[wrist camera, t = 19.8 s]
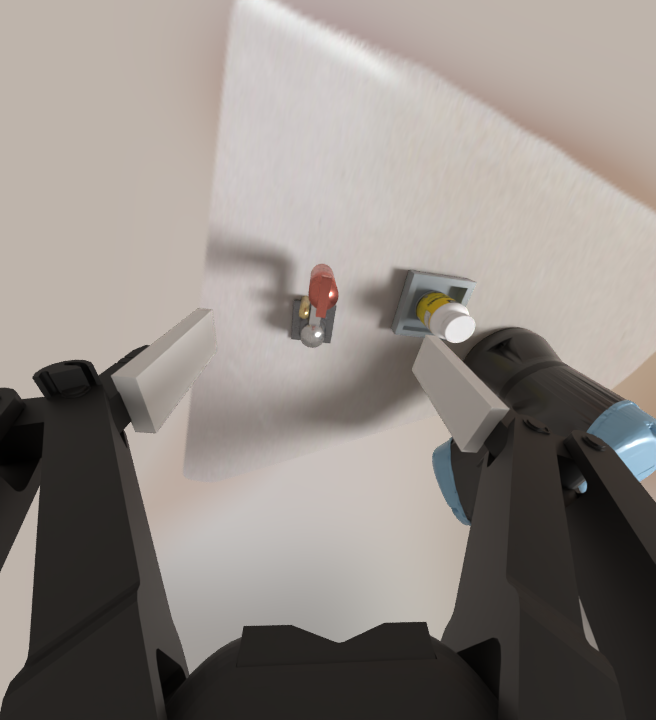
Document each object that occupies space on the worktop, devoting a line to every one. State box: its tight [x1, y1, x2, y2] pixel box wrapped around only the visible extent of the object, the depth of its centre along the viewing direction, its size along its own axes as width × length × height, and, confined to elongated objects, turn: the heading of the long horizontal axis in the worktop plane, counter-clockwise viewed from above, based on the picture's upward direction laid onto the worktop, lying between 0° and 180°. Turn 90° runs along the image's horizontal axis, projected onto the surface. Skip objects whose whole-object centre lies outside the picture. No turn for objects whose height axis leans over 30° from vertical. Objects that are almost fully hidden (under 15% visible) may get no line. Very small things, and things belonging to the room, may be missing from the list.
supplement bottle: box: [415, 291, 475, 343], centre depth 35 cm, size 5×5×10 cm
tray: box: [391, 270, 477, 340], centre depth 38 cm, size 10×10×2 cm
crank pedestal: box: [291, 296, 336, 343], centre depth 37 cm, size 7×8×6 cm
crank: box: [300, 264, 338, 348], centre depth 29 cm, size 13×4×11 cm, turn 170°
